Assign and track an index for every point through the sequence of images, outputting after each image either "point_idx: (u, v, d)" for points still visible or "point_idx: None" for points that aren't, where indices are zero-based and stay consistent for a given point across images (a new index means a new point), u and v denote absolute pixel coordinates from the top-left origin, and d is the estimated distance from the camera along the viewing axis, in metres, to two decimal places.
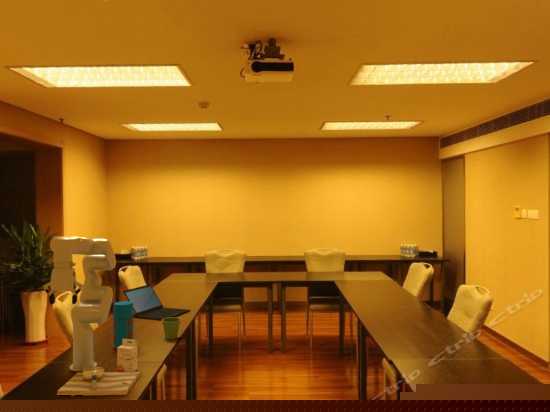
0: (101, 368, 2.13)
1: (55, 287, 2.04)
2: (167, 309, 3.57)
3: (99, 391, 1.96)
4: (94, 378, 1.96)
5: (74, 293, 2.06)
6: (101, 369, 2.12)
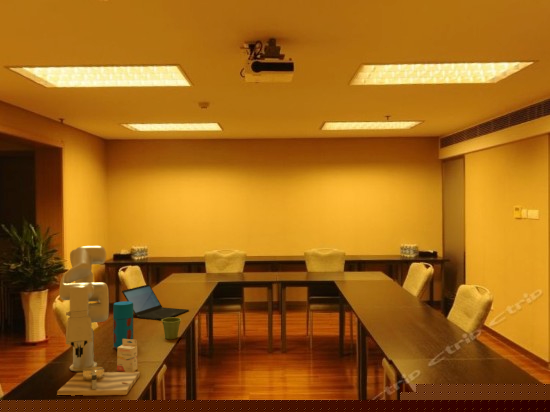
0: (101, 368, 2.13)
1: None
2: (166, 309, 3.58)
3: (99, 391, 1.96)
4: (94, 378, 1.96)
5: None
6: (101, 369, 2.12)
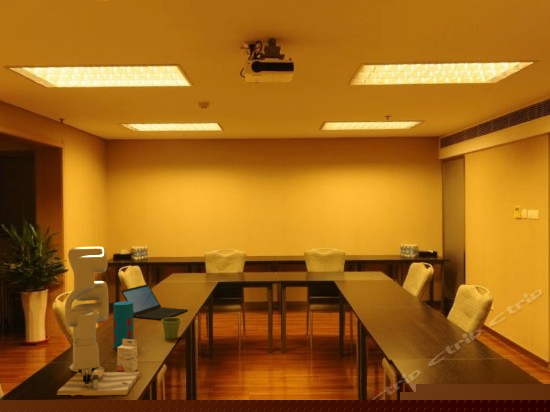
0: (101, 368, 2.13)
1: None
2: (165, 309, 3.58)
3: (99, 391, 1.96)
4: (96, 378, 1.97)
5: None
6: (101, 369, 2.12)
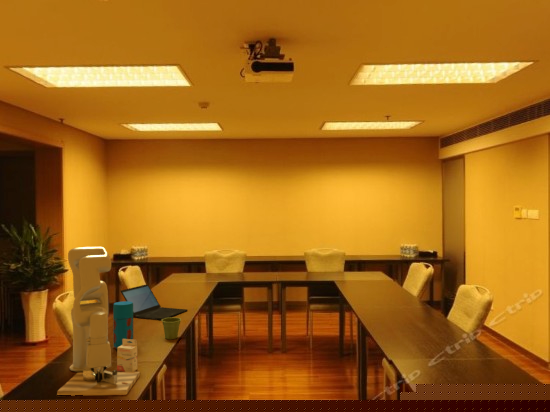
0: (98, 367, 2.14)
1: None
2: (164, 309, 3.58)
3: (99, 391, 1.96)
4: (116, 373, 2.02)
5: None
6: None
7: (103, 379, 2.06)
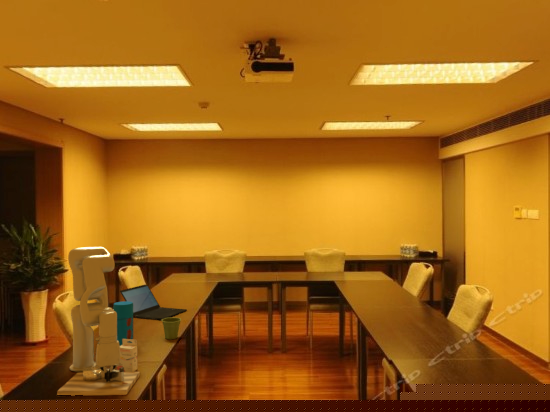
0: None
1: None
2: (164, 309, 3.58)
3: (99, 391, 1.96)
4: (123, 370, 2.06)
5: None
6: None
7: None
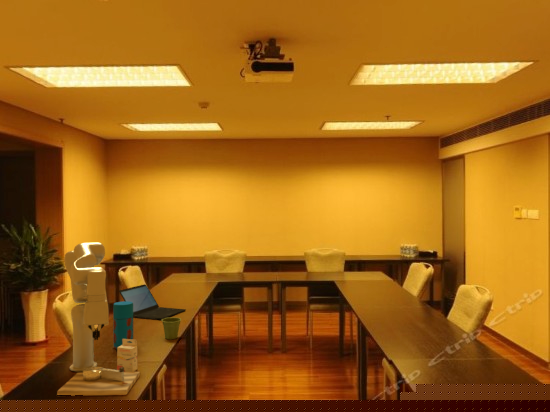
0: (96, 367, 2.14)
1: None
2: (163, 309, 3.59)
3: (99, 391, 1.96)
4: (123, 370, 2.06)
5: None
6: (99, 367, 2.14)
7: (107, 377, 2.08)
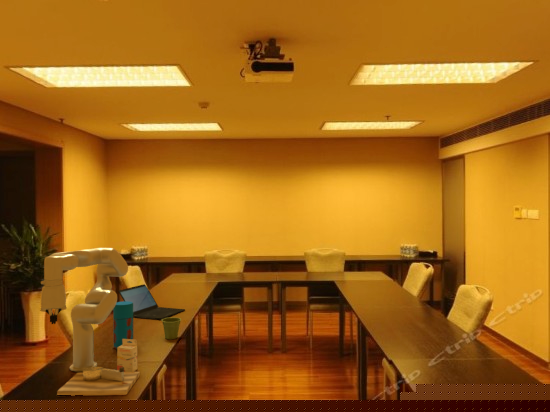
0: (96, 367, 2.14)
1: None
2: (162, 309, 3.59)
3: (99, 391, 1.96)
4: (123, 370, 2.06)
5: None
6: (99, 367, 2.14)
7: (107, 377, 2.08)
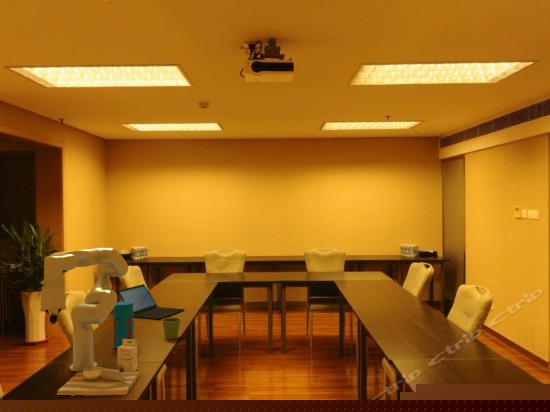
0: (96, 367, 2.14)
1: None
2: (161, 308, 3.59)
3: (99, 391, 1.96)
4: (123, 370, 2.06)
5: None
6: (99, 367, 2.14)
7: (107, 377, 2.08)
